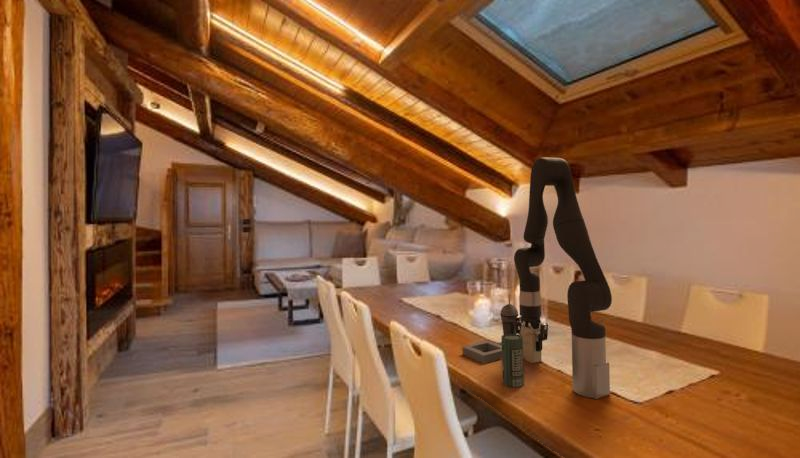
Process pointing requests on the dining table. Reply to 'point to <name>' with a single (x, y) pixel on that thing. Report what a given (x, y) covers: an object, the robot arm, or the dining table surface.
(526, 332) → the skincare box
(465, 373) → the dining table surface
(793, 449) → the dining table surface
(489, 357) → the socket block
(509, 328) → the beverage cup
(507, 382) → the can
